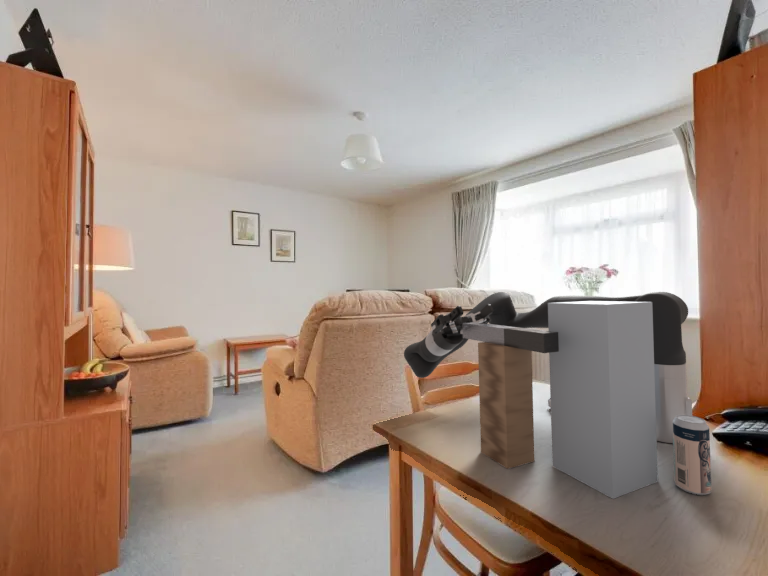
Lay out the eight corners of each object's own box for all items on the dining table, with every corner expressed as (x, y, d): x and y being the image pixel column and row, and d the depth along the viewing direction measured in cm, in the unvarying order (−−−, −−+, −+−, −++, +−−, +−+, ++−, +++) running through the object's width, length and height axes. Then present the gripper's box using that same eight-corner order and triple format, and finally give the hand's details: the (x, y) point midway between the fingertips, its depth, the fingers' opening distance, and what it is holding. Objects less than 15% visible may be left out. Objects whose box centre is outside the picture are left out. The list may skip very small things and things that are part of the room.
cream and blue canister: (714, 500, 57) (712, 426, 57) (676, 492, 60) (674, 420, 60) (707, 486, 61) (705, 416, 61) (672, 479, 64) (670, 412, 64)
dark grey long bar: (457, 336, 86) (457, 322, 86) (469, 335, 88) (469, 321, 88) (544, 353, 62) (543, 333, 62) (558, 351, 64) (558, 332, 64)
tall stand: (594, 453, 74) (590, 300, 74) (657, 481, 63) (652, 301, 63) (552, 466, 69) (547, 302, 70) (612, 498, 58) (607, 304, 59)
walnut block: (480, 452, 76) (477, 342, 76) (506, 445, 79) (503, 340, 79) (507, 468, 69) (504, 347, 69) (534, 461, 72) (531, 344, 72)
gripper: (470, 348, 96) (506, 321, 83) (424, 353, 90) (455, 325, 77) (461, 323, 99) (494, 293, 87) (416, 326, 94) (445, 295, 81)
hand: (476, 308), depth 82 cm, fingers open, 8 cm apart
